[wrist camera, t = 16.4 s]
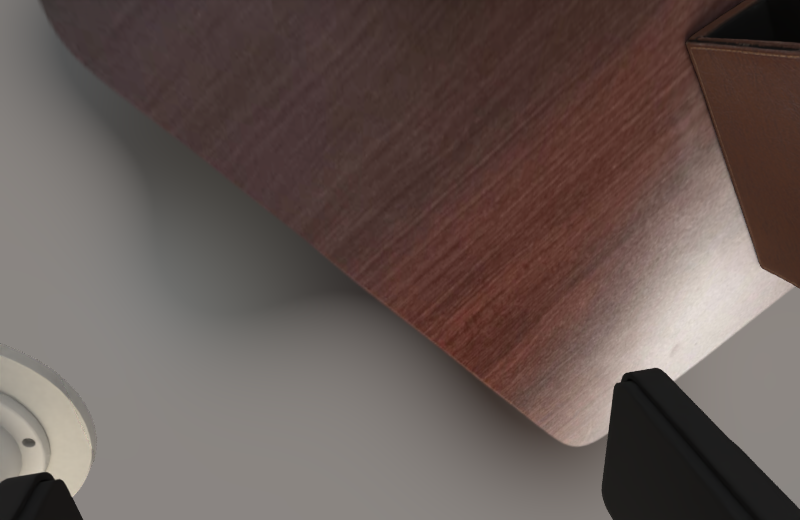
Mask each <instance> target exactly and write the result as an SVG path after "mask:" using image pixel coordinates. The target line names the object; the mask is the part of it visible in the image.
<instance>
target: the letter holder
mask: <svg viewBox="0 0 800 520" xmlns="http://www.w3.org/2000/svg"><path fill="white" fill-rule="evenodd" d="M686 46H687V48H688V52H689V55H690V57H691V60H692V63H693V66H694V68H695V71H696V74H697V77H698V79H699V82H700V85H701V88H702V91H703V94H704V97H705V100H706V103H707V106H708V109H709V111H710V115H711V119H712V121H713V124H714V127H715V130H716V133H717V136H718V139H719V143H720V146H721V148H722V152H723V155H724V158H725V161H726V164H727V167H728V170H729V173H730V176H731V179H732V182H733V185H734V188H735V191H736V194H737V197H738V200H739V203H740V206H741V209H742V212H743V215H744V218H745V221H746V224H747V227H748V230H749V233H750V235H751V238H752V241H753V244H754V247H755V250H756V253H757V257H758V260H759V263H760V266H761V267H762V268H763V269H765V270H766V271H768V272H770V273H772V274H774V275H776V276H778V277H780V278H782V279H784V280H786V281H787V282H789V283H791V284H793V285H794V286H796V287H798V288H800V0H745V1H743V2H742V3H740V4H739V5H737V6H736V7H734V8H733V9H731V10H730V11H728V12H727V13H725V14H723V15H722V16H720V17H719V18H717V19H716V20H715V21H713V22H712V23H710V24H709V25H707V26H706V27H704V28H703V29H701V30H700V31H698V32H697V33H695V34H694V35H693V36H691V37H690V38H689V39H688V40H687V41H686Z"/></svg>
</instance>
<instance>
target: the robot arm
mask: <svg viewBox="0 0 800 520" xmlns="http://www.w3.org/2000/svg"><path fill="white" fill-rule="evenodd" d="M49 459H50V447H49V441H48V438H47V436H46V433H45V431H44V429H43V428H42V426H41V425H40V423H39V422H38V421H37V419H36V418H35V417H34V416H33V415H32V414H31V413H30V412H29V411H28V410H27V409H26V408H25V407H24V406H22V405H21V404H19V403H18V402H16V401H15V400H13V399H12V398H10V397H9V396H7V395H5V394H3V393H0V520H83V518H82V516H81V514H80V512H79V510H78V508H77V506H76V504H75V502H74V500H73V498H72V496H71V494H70V492H69V490H68V488H67V486H66V484H65V483H64V481H63V480H61V479H56V480H55V479H54V477H53V476H52V474H50V473H48V472H46V470H47V467H48V465H49ZM602 496H603V500H604V503H605V506H606V508H607V510H608V512H609V514H610V515H611V517H612V519H613V520H800V509H799V508H798V507H797V506H796V505H795V504H794V503H793V502H792V501H791V500H790V499H789V498H788V497H787V496H786V495H785V494H784V493H783V492H782V491H781V490H780V489H779V487H778V486H776V485H775V484H774V483H773V481H772V480H771V479H770V478H769V477H768V476H767V475H766V474H765V473H764V472H763V471H762V470H761V469H760V468H759V467H758V466H757V465H756V464H755V463H754V462H753V461H752V460H751V459H750V458H749V457H748V456H747V455H746V454H745V453H744V452H743V451H742V450H741V449H740V448H739V447H738V446H737V445H736V444H735V443H734V442H732V441H731V440H730V439H729V438H728V437H727V436H726V435H725V434H724V433H723V432H722V431H721V430H720V429H719V428H718V427H717V426H716V425H715V424H714V423H713V422H712V421H711V419H710V418H708V416H707V415H706V414H705V413H704V412H703V411H702V410H701V409H700V408H699V407H698V406H697V405H696V404H695V403H694V402H693V401H692V400H691V399H690V398H689V397H688V396H687V395H686V394H685V393H684V392H683V391H682V390H681V389H680V388H679V387H678V386H677V385H676V383H675V382H674V381H673V380H672V379H671V378H670V377H669V376H668V375H667V374H666V373H665V372H663V371H662V370H661V369H658V368H652V369H646V370H640V371H634V372H629V373H625V374H624V375H623V377H622V380H621V382H620V383H616V385H615V386H614V391H613V399H612V407H611V416H610V424H609V432H608V441H607V448H606V457H605V465H604V473H603V481H602Z"/></svg>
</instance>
